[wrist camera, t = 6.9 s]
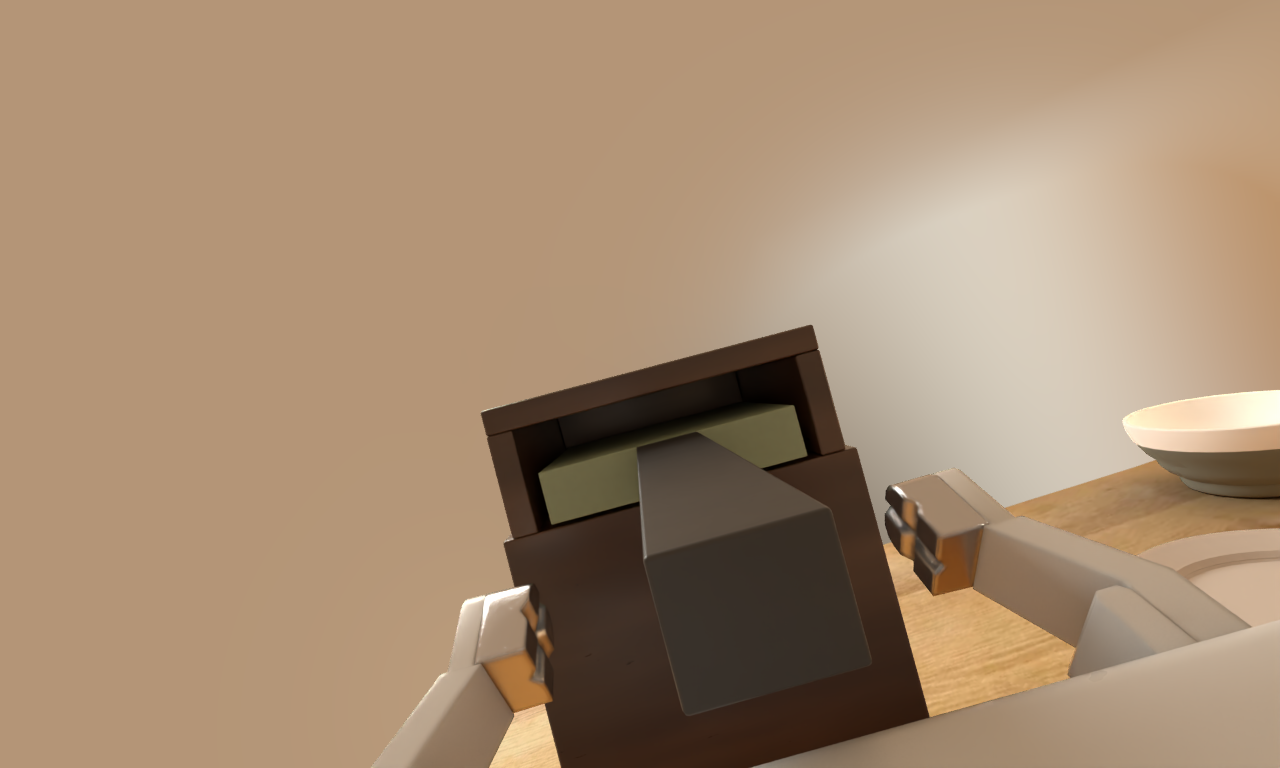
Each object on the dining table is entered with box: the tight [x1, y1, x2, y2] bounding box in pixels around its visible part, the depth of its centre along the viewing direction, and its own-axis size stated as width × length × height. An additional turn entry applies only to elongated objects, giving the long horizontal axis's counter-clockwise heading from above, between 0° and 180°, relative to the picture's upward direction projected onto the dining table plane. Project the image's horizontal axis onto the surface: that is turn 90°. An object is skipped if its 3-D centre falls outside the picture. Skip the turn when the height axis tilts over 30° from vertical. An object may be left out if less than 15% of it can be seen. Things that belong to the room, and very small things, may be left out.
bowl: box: [1123, 390, 1280, 498], centre depth 60 cm, size 20×20×10 cm
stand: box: [481, 325, 930, 768], centre depth 24 cm, size 12×14×31 cm
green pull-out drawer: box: [538, 402, 872, 716], centre depth 17 cm, size 22×10×2 cm, turn 1°
